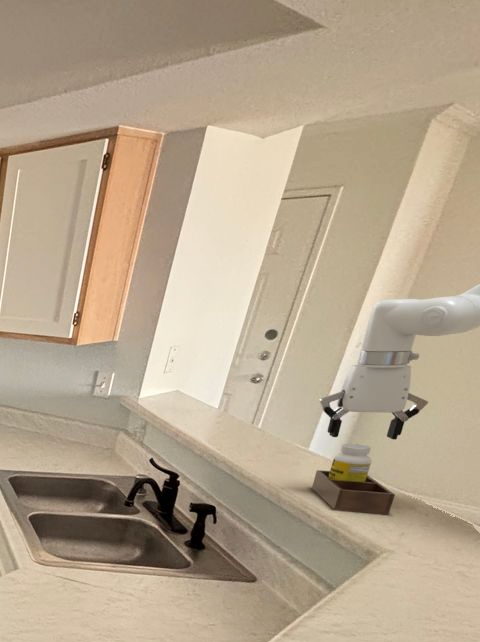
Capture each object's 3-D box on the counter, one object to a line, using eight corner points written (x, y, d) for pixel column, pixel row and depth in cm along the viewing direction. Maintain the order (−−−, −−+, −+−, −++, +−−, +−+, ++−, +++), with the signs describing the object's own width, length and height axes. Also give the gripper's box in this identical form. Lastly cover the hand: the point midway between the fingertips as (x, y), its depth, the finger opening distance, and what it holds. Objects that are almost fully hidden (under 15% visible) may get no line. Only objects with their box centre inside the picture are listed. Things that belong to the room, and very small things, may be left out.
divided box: (359, 492, 138) (365, 473, 137) (388, 514, 124) (395, 494, 123) (311, 488, 142) (316, 470, 141) (334, 509, 129) (340, 489, 127)
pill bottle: (319, 487, 140) (331, 442, 137) (351, 489, 138) (365, 443, 135) (332, 495, 135) (346, 448, 131) (367, 497, 133) (382, 449, 129)
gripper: (431, 357, 125) (408, 435, 131) (324, 358, 134) (306, 432, 139) (448, 360, 119) (423, 442, 125) (335, 361, 127) (316, 438, 133)
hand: (361, 437), depth 132 cm, fingers open, 9 cm apart
